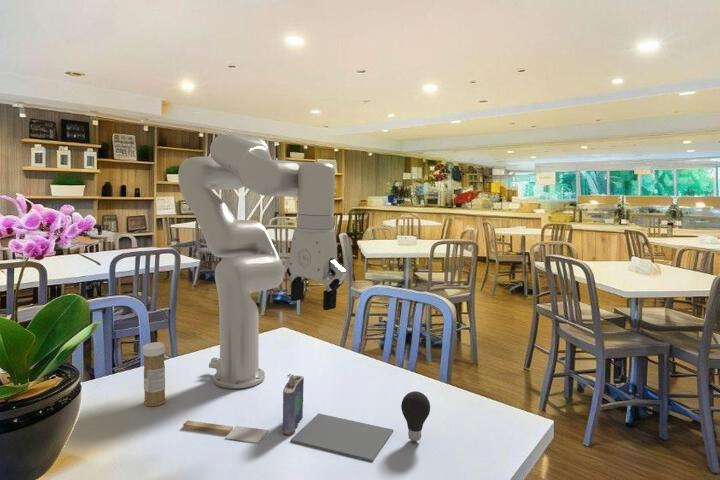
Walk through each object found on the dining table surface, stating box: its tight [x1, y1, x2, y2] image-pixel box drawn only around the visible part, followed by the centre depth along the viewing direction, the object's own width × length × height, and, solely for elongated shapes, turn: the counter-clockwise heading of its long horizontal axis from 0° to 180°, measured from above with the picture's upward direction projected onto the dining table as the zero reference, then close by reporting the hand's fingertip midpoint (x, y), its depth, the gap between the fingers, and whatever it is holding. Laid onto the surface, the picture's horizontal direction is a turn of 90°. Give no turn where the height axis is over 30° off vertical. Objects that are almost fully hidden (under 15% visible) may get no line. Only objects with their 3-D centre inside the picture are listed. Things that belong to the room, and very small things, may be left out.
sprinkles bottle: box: [142, 341, 166, 407], centre depth 108 cm, size 5×5×14 cm
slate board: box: [290, 412, 394, 463], centre depth 96 cm, size 17×12×1 cm
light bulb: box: [400, 391, 431, 443], centre depth 94 cm, size 6×6×10 cm
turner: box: [182, 420, 269, 445], centre depth 97 cm, size 17×5×1 cm, turn 78°
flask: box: [281, 373, 305, 437], centre depth 100 cm, size 9×3×11 cm, turn 172°
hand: (312, 304), depth 102 cm, fingers open, 9 cm apart
